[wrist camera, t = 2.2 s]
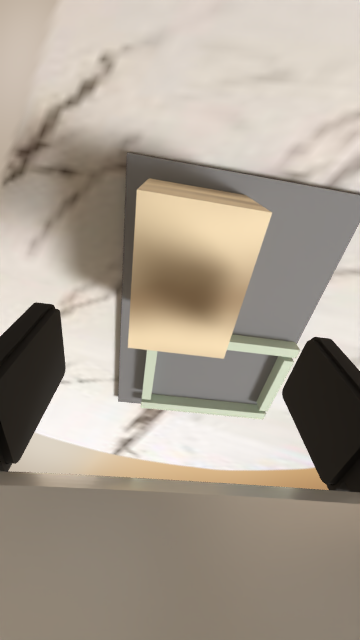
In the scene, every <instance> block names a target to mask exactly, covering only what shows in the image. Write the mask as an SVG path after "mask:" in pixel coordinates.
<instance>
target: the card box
mask: <svg viewBox="0 0 360 640" xmlns="http://www.w3.org/2000/svg"><path fill="white" fill-rule="evenodd" d="M271 215H272V212H271V211H269V210H268V209H266V208H264V207H263V206H261V205H260V204H258V203H257V202H255V201H254V200H252V199H251V198H249V197H248V196H246V195H242V194H236V193H231V192H225V191H219V190H214V189H208V188H202V187H196V186H191V185H185V184H179V183H174V182H168V181H162V180H157V179H151V178H149V179H148V180H147V181H146V182H145V183H143V184H142V185H141V186H140V187H139V188H138V189H137V196H136V214H135V231H134V249H133V266H132V284H131V301H130V319H129V336H128V348H135V349H143V350H152V351H161V352H169V353H178V354H187V355H195V356H204V357H213V358H221V359H224V357H225V354H226V351H227V348H228V345H229V342H230V339H231V336H232V333H233V330H234V327H235V324H236V321H237V318H238V315H239V312H240V309H241V306H242V303H243V300H244V297H245V294H246V291H247V288H248V285H249V282H250V279H251V276H252V273H253V270H254V266H255V263H256V260H257V257H258V254H259V251H260V248H261V245H262V242H263V239H264V236H265V233H266V230H267V227H268V224H269V221H270V218H271Z"/></svg>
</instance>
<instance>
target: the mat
mask: <svg viewBox="0 0 360 640" xmlns="http://www.w3.org/2000/svg"><path fill="white" fill-rule="evenodd" d="M149 178H151V179H157V180H162V181H168V182H174V183H179V184H185V185H191V186H196V187H202V188H208V189H214V190H219V191H225V192H231V193H236V194H242V195H246V196H248V197H249V198H251V199H252V200H254V201H255V202H257V203H258V204H260V205H261V206H263V207H264V208H266V209H268V210H269V211H271V212H272V215H271V218H270V221H269V224H268V227H267V230H266V233H265V236H264V239H263V242H262V245H261V248H260V251H259V254H258V257H257V260H256V263H255V266H254V270H253V273H252V276H251V279H250V282H249V285H248V288H247V291H246V294H245V297H244V300H243V303H242V306H241V309H240V312H239V315H238V318H237V321H236V324H235V327H234V330H233V333H232V336H231V339H230V342H229V345H228V348H227V351H226V354H225V357H224V359H221V358H213V357H204V356H195V355H187V354H178V353H169V352H161V351H152V350H143V349H135V348H128V336H129V319H130V301H131V284H132V266H133V249H134V231H135V214H136V196H137V189H138V188H139V187H140V186H141V185H142V184H143V183H145V182H146V181H147V180H148V179H149ZM359 223H360V195H358V194H352V193H347V192H341V191H336V190H331V189H325V188H320V187H314V186H309V185H303V184H298V183H292V182H287V181H281V180H276V179H270V178H265V177H259V176H254V175H249V174H243V173H238V172H232V171H227V170H221V169H216V168H210V167H205V166H199V165H194V164H188V163H183V162H177V161H172V160H166V159H161V158H156V157H150V156H145V155H139V154H134V153H127V169H126V197H125V225H124V253H123V281H122V309H121V337H120V366H119V394H118V401H119V402H130V403H140V404H141V408H149V409H160V410H170V411H181V412H191V413H202V414H212V415H223V416H233V417H244V418H254V419H264V417H265V415H266V413H265V411H268V409H269V407H270V406H271V404H272V402H273V400H274V398H275V396H276V394H277V393H278V391H279V389H280V387H281V385H282V383H283V381H284V379H285V378H286V376H287V374H288V372H289V370H290V368H291V366H292V365H293V363H294V361H293V359H292V358H296V357H297V355H298V353H299V351H300V349H299V348H298V346H297V343H298V341H299V339H300V337H301V335H302V333H303V331H304V329H305V327H306V325H307V323H308V321H309V319H310V317H311V316H312V314H313V312H314V310H315V308H316V306H317V304H318V302H319V300H320V298H321V296H322V294H323V292H324V290H325V288H326V287H327V285H328V283H329V281H330V279H331V277H332V275H333V273H334V271H335V269H336V267H337V265H338V263H339V261H340V259H341V258H342V256H343V254H344V252H345V250H346V248H347V246H348V244H349V242H350V240H351V238H352V236H353V234H354V232H355V231H356V229H357V227H358V225H359Z"/></svg>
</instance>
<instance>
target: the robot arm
mask: <svg viewBox="0 0 360 640" xmlns="http://www.w3.org/2000/svg"><path fill="white" fill-rule="evenodd" d="M64 373H65V357H64V347H63V337H62V327H61V317H60V311H59V310H58V309H55V307H54V305H52V304H44V303H34V304H33V305H32V306H31V307H30V308H29V309H28V310H27V311H26V312H25V313H24V314H23V315H22V316H21V317H20V318H19V319H18V320H17V321H16V322H15V323H13V324H12V325H11V326H10V327H9V328H8V329H7V330H6V331H5V332H4V333H3V334H2V335H1V336H0V640H360V371H359V370H358V369H357V367H356V366H355V365H354V364H353V363H352V362H351V361H350V360H349V358H348V357H347V356H346V355H345V354H344V353H343V352H342V351H341V350H340V348H339V347H338V346H337V345H336V344H335V343H334V342H333V341H332V340H331V339H328V338H319V337H314V338H312V339H311V340H309V341H307V343H306V344H305V346H304V348H303V350H302V352H301V354H300V356H299V358H298V360H297V362H296V364H295V366H294V368H293V370H292V372H291V374H290V376H289V378H288V380H287V382H286V384H285V386H284V388H283V391H282V395H283V399H284V401H285V403H286V405H287V407H288V409H289V412H290V414H291V416H292V418H293V420H294V422H295V425H296V427H297V429H298V431H299V433H300V435H301V438H302V440H303V442H304V444H305V446H306V448H307V450H308V453H309V455H310V457H311V459H312V461H313V463H314V466H315V468H316V470H317V472H318V474H319V476H320V478H321V480H322V481H323V482H324V483H325V484H326V485H327V487H328V489H329V490H318V489H317V490H316V489H303V488H289V487H273V486H257V485H242V484H227V483H211V482H194V481H179V480H163V479H145V478H128V477H110V476H94V475H77V474H56V473H55V474H54V473H31V472H8V470H9V468H10V466H11V465H12V463H17V462H18V461H19V460H20V458H21V456H22V455H23V453H24V451H25V449H26V447H27V445H28V443H29V441H30V439H31V437H32V435H33V434H34V432H35V430H36V428H37V426H38V424H39V422H40V420H41V418H42V416H43V414H44V413H45V411H46V409H47V407H48V405H49V403H50V401H51V399H52V397H53V395H54V393H55V392H56V390H57V388H58V386H59V384H60V382H61V380H62V378H63V376H64Z"/></svg>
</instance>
